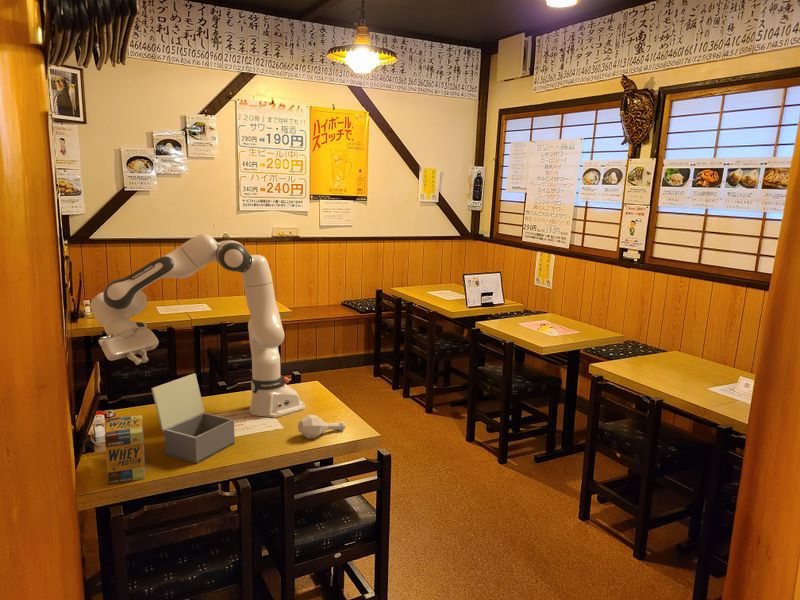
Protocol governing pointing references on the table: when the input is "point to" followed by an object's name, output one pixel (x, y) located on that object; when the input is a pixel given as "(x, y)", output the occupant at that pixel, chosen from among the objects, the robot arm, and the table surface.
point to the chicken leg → (317, 426)
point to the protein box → (125, 449)
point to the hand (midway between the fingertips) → (142, 362)
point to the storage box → (199, 437)
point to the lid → (177, 400)
